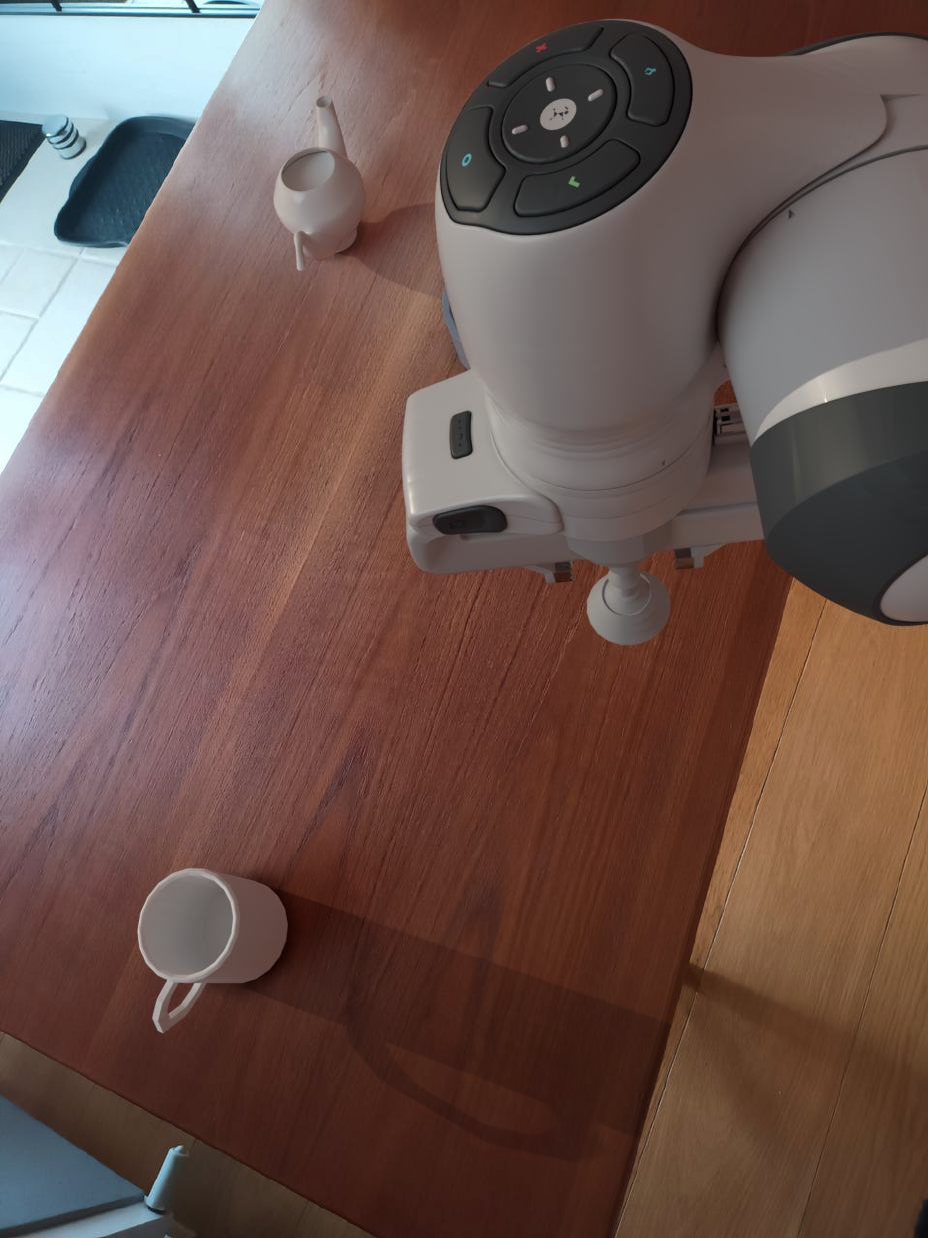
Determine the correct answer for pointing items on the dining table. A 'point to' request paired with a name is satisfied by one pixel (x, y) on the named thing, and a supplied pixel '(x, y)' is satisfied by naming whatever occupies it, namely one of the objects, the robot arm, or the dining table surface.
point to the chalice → (626, 587)
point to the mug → (208, 934)
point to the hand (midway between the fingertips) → (622, 563)
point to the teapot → (321, 192)
